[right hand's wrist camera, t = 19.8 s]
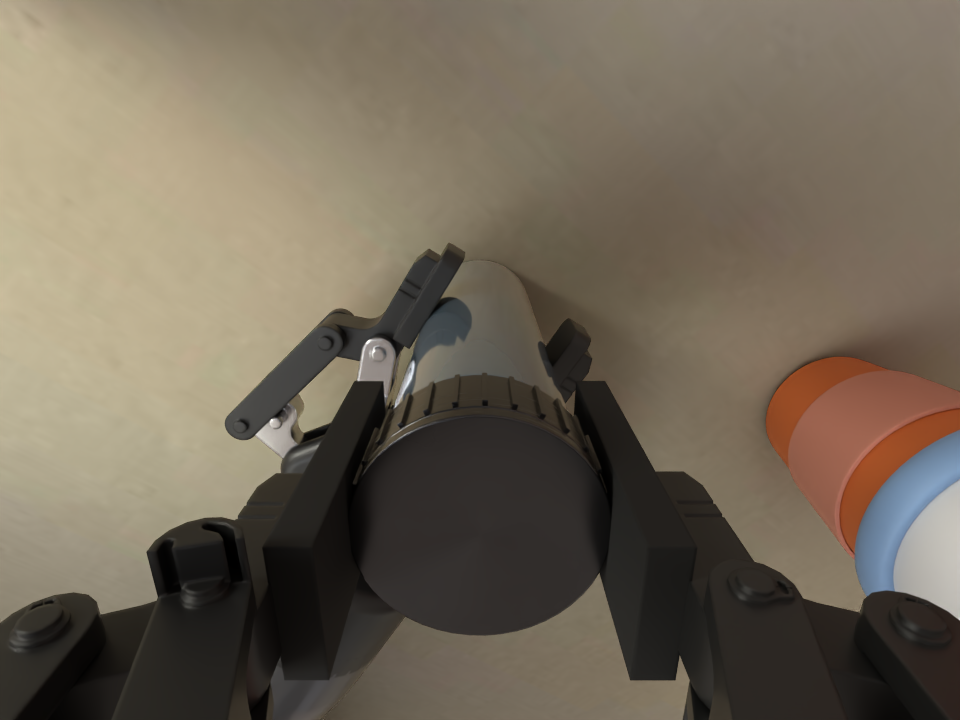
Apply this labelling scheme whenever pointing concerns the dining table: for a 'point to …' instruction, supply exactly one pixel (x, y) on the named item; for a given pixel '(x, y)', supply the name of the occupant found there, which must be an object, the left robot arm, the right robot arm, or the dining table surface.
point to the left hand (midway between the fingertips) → (517, 291)
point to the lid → (479, 507)
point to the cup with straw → (878, 470)
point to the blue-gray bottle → (481, 333)
